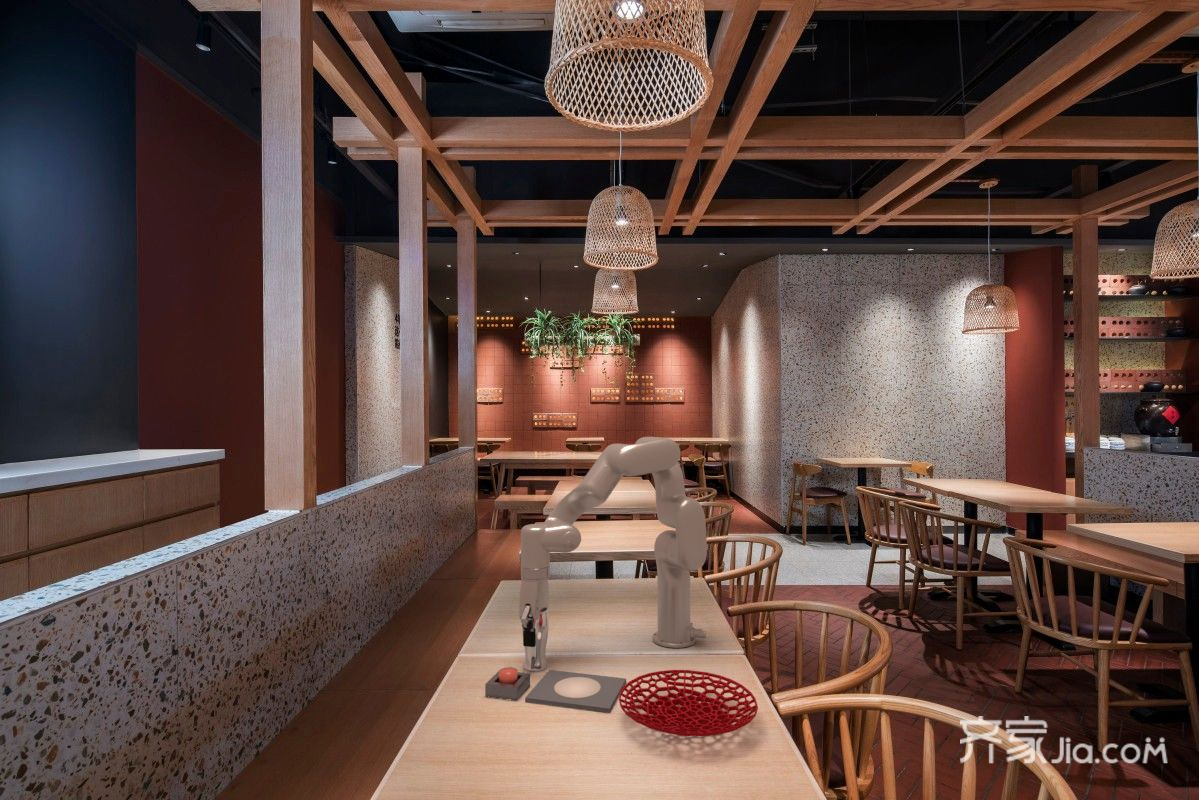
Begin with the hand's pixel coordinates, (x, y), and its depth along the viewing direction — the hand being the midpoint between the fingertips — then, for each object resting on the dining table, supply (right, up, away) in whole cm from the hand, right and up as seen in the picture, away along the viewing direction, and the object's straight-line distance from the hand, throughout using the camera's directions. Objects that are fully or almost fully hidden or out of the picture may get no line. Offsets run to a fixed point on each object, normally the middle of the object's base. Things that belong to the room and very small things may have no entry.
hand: (535, 640), depth 162 cm
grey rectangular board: (+11, -7, -15) cm, 20 cm away
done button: (-5, -5, -14) cm, 16 cm away
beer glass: (0, -7, 0) cm, 7 cm away
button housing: (-5, -7, -14) cm, 17 cm away
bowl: (+36, -7, -29) cm, 46 cm away
